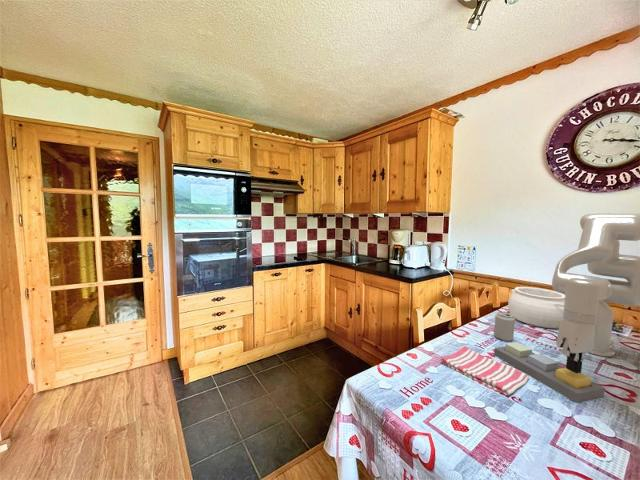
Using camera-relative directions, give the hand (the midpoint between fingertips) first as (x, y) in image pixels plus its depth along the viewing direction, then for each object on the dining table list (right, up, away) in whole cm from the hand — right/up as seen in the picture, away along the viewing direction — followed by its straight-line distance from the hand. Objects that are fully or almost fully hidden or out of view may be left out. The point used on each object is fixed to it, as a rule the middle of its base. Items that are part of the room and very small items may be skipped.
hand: (573, 370), depth 84 cm
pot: (+38, -2, +58) cm, 70 cm away
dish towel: (-23, -6, +10) cm, 26 cm away
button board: (-2, -6, +9) cm, 11 cm away
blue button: (-2, -3, +9) cm, 10 cm away
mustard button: (0, -4, 0) cm, 4 cm away
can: (+3, -4, +36) cm, 37 cm away
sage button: (-4, -2, +18) cm, 19 cm away
